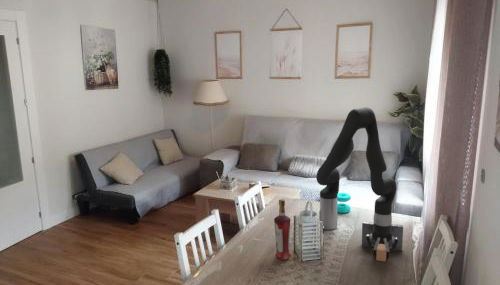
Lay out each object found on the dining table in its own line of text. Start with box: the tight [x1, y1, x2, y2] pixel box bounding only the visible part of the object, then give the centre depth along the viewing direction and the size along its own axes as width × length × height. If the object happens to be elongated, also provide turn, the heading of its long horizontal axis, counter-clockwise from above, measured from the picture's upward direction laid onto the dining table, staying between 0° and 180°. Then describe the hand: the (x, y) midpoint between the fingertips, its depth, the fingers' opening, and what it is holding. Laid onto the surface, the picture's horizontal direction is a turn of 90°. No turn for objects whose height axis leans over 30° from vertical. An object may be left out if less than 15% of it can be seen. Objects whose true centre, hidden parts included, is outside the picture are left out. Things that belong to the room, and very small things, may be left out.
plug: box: [375, 244, 387, 262], centre depth 172 cm, size 4×20×5 cm, turn 161°
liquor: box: [273, 198, 291, 261], centre depth 167 cm, size 7×7×28 cm
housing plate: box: [361, 221, 404, 252], centre depth 174 cm, size 18×2×12 cm, turn 71°
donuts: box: [337, 192, 352, 214], centre depth 221 cm, size 10×10×10 cm
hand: (381, 257), depth 166 cm, fingers closed on plug, 4 cm apart
